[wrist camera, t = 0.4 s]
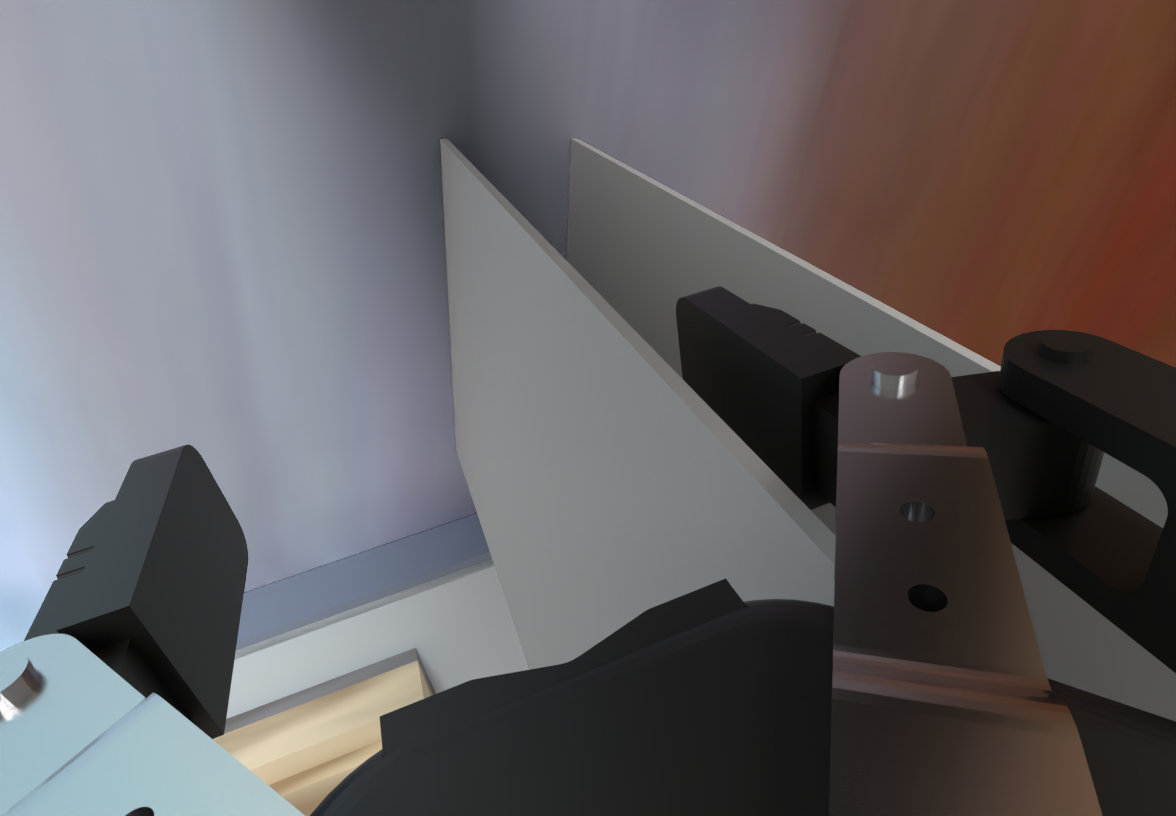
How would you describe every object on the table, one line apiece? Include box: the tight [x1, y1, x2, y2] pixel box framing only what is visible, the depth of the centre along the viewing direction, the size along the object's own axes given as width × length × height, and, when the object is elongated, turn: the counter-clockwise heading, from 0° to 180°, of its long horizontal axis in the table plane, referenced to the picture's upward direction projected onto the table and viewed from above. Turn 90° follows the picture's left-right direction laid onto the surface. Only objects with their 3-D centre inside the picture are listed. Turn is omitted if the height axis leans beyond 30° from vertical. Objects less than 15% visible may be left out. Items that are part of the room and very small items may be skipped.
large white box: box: [226, 513, 529, 719], centre depth 36 cm, size 14×18×3 cm
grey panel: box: [440, 139, 1176, 721], centre depth 18 cm, size 14×6×30 cm, turn 177°
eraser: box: [213, 648, 436, 816], centre depth 33 cm, size 6×10×4 cm, turn 99°
